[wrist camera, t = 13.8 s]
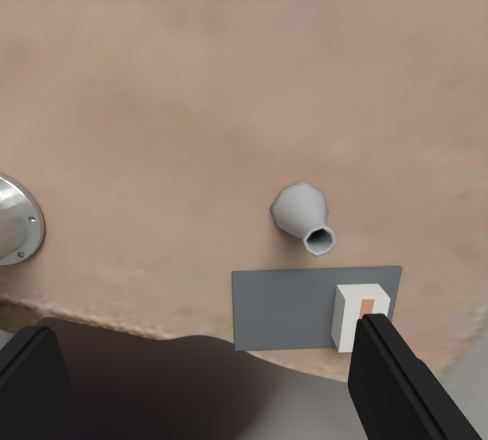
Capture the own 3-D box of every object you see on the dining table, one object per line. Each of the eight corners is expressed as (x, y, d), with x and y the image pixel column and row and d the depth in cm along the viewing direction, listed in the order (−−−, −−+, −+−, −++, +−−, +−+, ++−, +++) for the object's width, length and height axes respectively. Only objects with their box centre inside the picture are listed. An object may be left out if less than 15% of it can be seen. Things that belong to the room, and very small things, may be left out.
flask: (337, 211, 38) (370, 245, 28) (292, 244, 39) (310, 286, 30) (305, 170, 36) (330, 191, 26) (259, 205, 37) (268, 238, 28)
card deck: (336, 284, 41) (345, 300, 38) (378, 283, 41) (390, 299, 38) (330, 334, 44) (338, 353, 41) (369, 333, 45) (380, 351, 41)
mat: (235, 348, 45) (235, 350, 45) (232, 271, 40) (232, 273, 40) (385, 342, 46) (386, 345, 46) (400, 265, 41) (402, 267, 41)
